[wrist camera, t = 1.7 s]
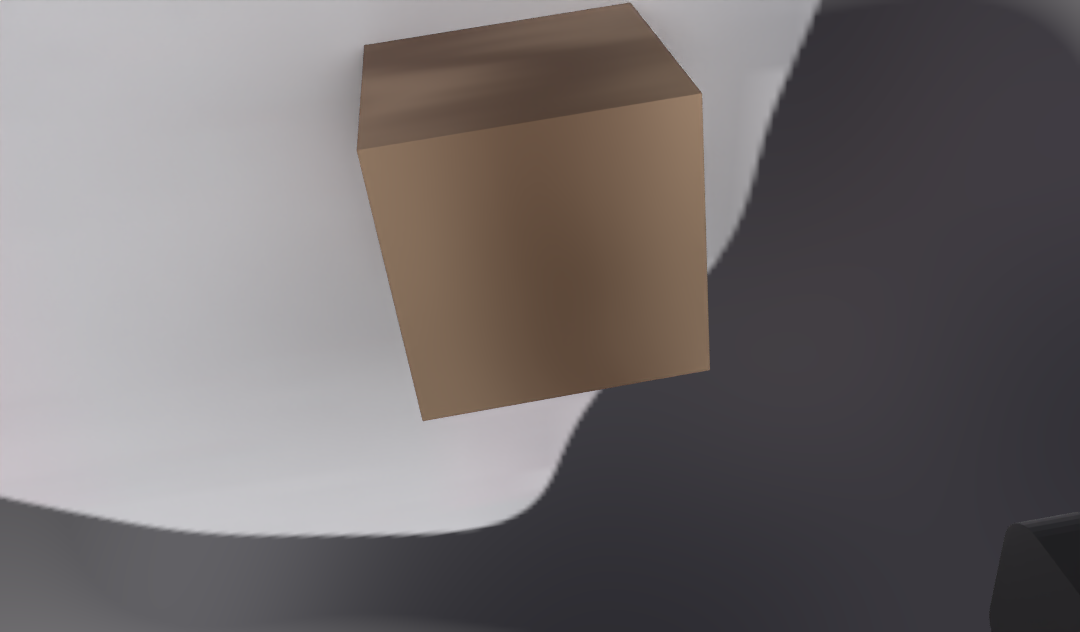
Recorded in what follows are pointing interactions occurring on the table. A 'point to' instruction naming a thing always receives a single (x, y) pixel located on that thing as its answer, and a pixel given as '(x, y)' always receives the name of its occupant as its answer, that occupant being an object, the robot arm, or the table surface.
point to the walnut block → (538, 207)
